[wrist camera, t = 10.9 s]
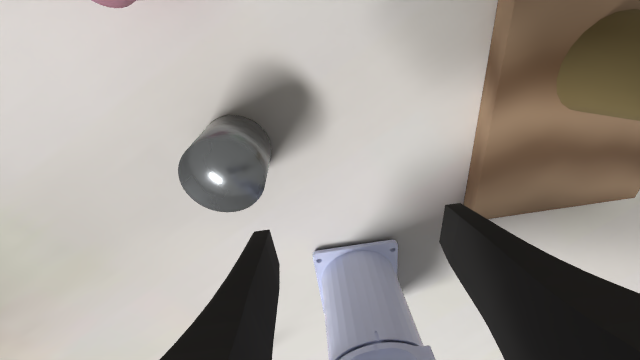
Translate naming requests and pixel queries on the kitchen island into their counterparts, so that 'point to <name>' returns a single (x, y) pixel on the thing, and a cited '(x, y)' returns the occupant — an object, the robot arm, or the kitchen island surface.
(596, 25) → the olive peg
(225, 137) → the grey domed cylinder
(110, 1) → the pink toy figurine
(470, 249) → the robot arm
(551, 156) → the walnut board
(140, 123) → the kitchen island surface
